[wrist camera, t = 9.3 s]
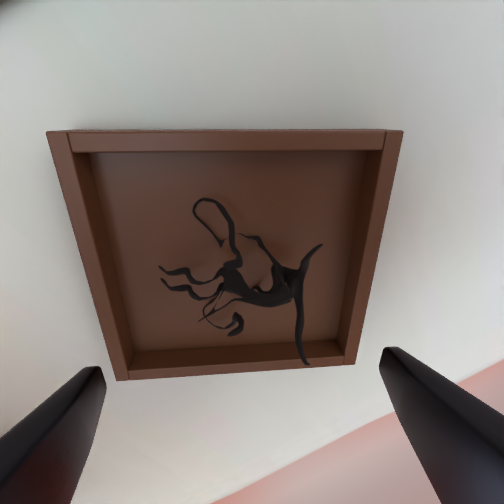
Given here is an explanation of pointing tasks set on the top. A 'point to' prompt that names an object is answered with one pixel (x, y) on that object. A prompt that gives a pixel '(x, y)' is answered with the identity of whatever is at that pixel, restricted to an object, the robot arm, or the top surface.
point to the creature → (238, 286)
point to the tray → (208, 249)
